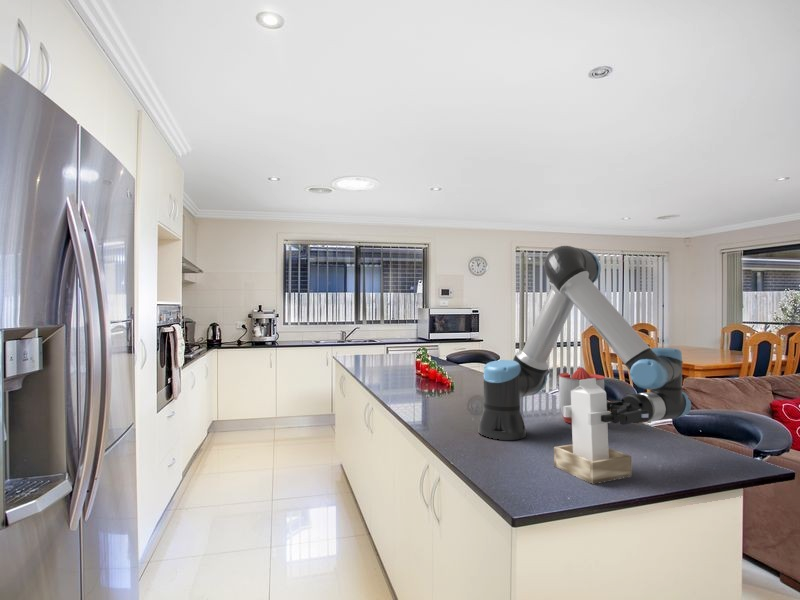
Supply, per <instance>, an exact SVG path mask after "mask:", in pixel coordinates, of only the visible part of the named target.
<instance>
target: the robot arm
mask: <svg viewBox="0 0 800 600" xmlns="http://www.w3.org/2000/svg"><path fill="white" fill-rule="evenodd" d="M543 268H544V273H545V274H546V276H547V278H548V280H549V281H548V282H549V285H550V290H549V291H548V295H547V297H546V298H545V301H544V303H543V305H542V307H541V310H540V312H539V314H538V316H537V318H536V320H535V323H534V325H533V327H532V329H531V331H530V334H529V336H528V338H527V339H526V342H525V344H524V346H523V349H522V350H520V351H517V352H515V355H514V357H513V359H512V360H511V359H510V360H509V359H501V360H500V359H499V360H494V361H489V362H487V363H486V364H485V365H484V368H483V375H482V378H483V410H482V412H481V413H482V414H481V417H480V420H479V423H478V427H477V428H478V429H477V431H478V432H479V433H480V434H482V435H484V436H486V437H485V438H487V437H489V438H488V439H491V438H493V439H492V440H497V439H499V441H516V440H521V439H524V438H525V437H526V436H527V435H526V434H527V430H526V424H525V423H524V418H523V416H522V413H521V398H524V397H529V396H534V395H536V394H538V393H539V392H541V391H542V390H543V389H544V388H545V386H546V384H547V381H548V375H547V372H548V369H549V364H548V362H547V361H548V359H549V357H550V354H551V352H552V351H553V349H554V346H555V344H556V342H557V340H558V338H559V336H560V334H561V332H562V330H563V328H564V326H565V323H566V321H567V319H568V317H569V315H570V313H571V312H572V309H573V307H574V306H576V308H577V309H578V310H579V311H580V312H581V314H582V315H583V316H584V317H585V319H587V321H588V322H589V324H590V325H591V326H592V327H593V328H594V329H595V330H596V332H597V333H598V334H599V335H600V337H601V338H602V339H603V340H604V341H605V343H606V344H607V345H608V346H609V347H610V349H612V351H613V352H614V353H615V355H616V356H617V357H618V358H619V359H620V360H621V361H622V363H623V364H624V365H625V366H626V368H627V369H628V370H629V376H630V379H631V381H632V382H633V383H634V385H636V386H637V387H638V388H641V389H643V390H650V392H649V391H648V392H639V393H631V394H629V393H628V394H626V395H624V396H623V397H622V398H621V399H620V400H615V401H607V411H602V412H594V413H588V425H596V424H604V423H607V424H610V423H613V424H617V423H619V424H620V425H622V426H625V425H629V424H642V423H648V424H651V423H652V422H656V421H662V420H674V419H678V418H683V417H684V416H686V415H688V414H689V413H690V411H691V409H692V402H691V400H690V398H689V395H687V394H686V393H685V392H684V391H683V357H682V351H681V350H680V349H679V348H672V347H653V348H651V347H650V346H649V345H648V344H647V342H646V341H645V340H644V339H643V338H642V337H641V335H640V334H639V333H638V332H637V331H636V329H634V328H633V327H632V325H630V323H629V322H628V321H627V320H626V319H625V318H624V317H623V315H622V314H621V313H620V312H619V311H618V309H616V308H615V306H614V305H613V304H612V303H611V302H610V300H608V298H607V297H606V296H605V295H604V293H602V292H601V290H600V289H599V288H598V287H597V286H596V285H595V284H594V283H595V282H596V281H597V280H598V278H599V276H600V274H601V271H602V267H601V262H600V260H599V258H598V256H597V255H595V253H593V252H591V251H589V250H587V249H584V248H579V247H575V246H571V245H560V246H556V247H555V248H554V249H552V250H550V251H549V252H548V253H547V255H546V257H545V259H544V263H543ZM563 417H572V412H571V405H569V406H563V416H562V418H563ZM479 433H478V434H479ZM480 434H479V435H480ZM482 435H481V436H482ZM484 436H483V437H484Z"/></svg>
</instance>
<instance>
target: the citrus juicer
mask: <svg viewBox="0 0 800 600" xmlns="http://www.w3.org/2000/svg"><path fill="white" fill-rule="evenodd" d="M591 378H596V384H597V385H598V386H599V387H601V388H602V389H603V390H604V391H605V378H606V377H605V376H604V375H601V374H596V373H595V374H594V373H588V371H587V370H586V369H585V368H584V367H581V366H579V368H578V369H576V370H575V371H574V372H573V374H572V375H571V374H569V372H562V373H561V372H560V373H558V380H559V382H558V383H559V384H558V394H559V395H558V396H559V397H558V398H559V406H560V411H561V415H562V418H563V421H564V422H566V423H569V424H571V425H572V417H563V406H569V405H571V391H572V390H573V389H575V388H577V387H579V386H580V380H583V379H591Z"/></svg>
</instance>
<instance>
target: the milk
mask: <svg viewBox="0 0 800 600" xmlns="http://www.w3.org/2000/svg"><path fill="white" fill-rule="evenodd" d="M607 402H608V400H607V392H606V390H605V389H604V390H603V389H602V388H601V387H599V386H598V385H597V384H596V378H591V379H583V380H580V386H579V387H577V388H575V389H573V390H572V391H571V412H572V424H571V434H572V444H573V454H576V455H578V456H581V457H583V458H585V459H588V460H590V461H598V460H603V459H609V449H608V448H609V432H608V431H609V429H608V423H604V424H596V425H588V413H594V412H602V411H607Z"/></svg>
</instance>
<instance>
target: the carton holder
mask: <svg viewBox="0 0 800 600" xmlns="http://www.w3.org/2000/svg"><path fill="white" fill-rule="evenodd" d="M608 449H609V459H603V460H598V461H590V460H588V459H585V458H583V457H581V456H578V455H576V454H573V443H571V444H566V445H559V446H554V447H553V467H555V468H557V469H559V470H560V471H562V472H565V473H567V474H569V475H572V476H573V477H575V476H576V478H577V479H580V480H582V481H584V480H585V482H586V481H587V483H588V482H589V483H588V484H590V483H592V484H591V485H596V484H595V483H598V484H600V483H599V482H603V483H605V482H604V481H608V482H610V481H609V480H613V481H615V480H614V479H618V480H620V479H619V478H623V477H628V478H630V477H629V476H631V477H632V455H629V454H627V453H624V452H621V451H619V450H615V449H613V448H610V447H608ZM623 479H624V478H623Z"/></svg>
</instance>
